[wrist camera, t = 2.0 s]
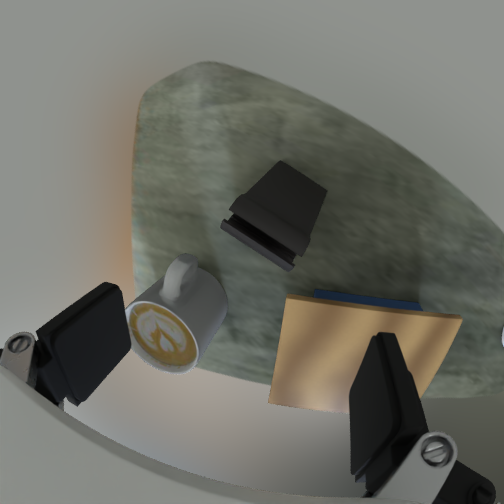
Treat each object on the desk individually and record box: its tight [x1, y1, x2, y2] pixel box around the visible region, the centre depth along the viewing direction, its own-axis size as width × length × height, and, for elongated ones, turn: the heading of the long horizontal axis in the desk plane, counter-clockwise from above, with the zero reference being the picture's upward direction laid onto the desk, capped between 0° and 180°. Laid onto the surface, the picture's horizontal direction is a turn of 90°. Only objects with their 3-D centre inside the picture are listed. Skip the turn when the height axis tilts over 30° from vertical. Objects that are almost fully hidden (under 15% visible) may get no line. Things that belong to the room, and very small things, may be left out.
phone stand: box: [220, 160, 327, 272], centre depth 24 cm, size 9×6×12 cm, turn 149°
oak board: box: [268, 294, 463, 413], centre depth 27 cm, size 20×16×1 cm
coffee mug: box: [125, 253, 228, 374], centre depth 31 cm, size 13×10×10 cm
